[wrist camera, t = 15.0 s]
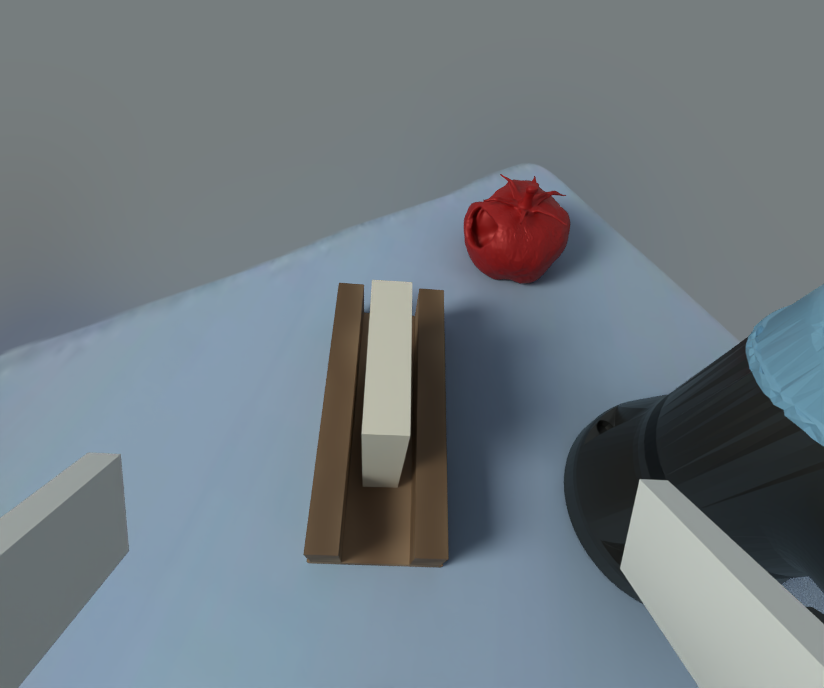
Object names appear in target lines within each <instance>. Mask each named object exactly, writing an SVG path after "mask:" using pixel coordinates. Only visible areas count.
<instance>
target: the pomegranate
mask: <svg viewBox="0 0 824 688" xmlns="http://www.w3.org/2000/svg"><path fill="white" fill-rule="evenodd" d="M500 175H501V176H502V177H504V178H505V179H506V180H507V181H508V183H507V184H506V185H505V186H504V187H502V188H500V189H499V190H497V191H496V192H495V193H494V194H493V195H492V196H491V197H490V198H489V199H487V200H484V202H475V203H472V204H471V205H470V207H469V208H468V211H467V213H466V215H465V218H464V236H465V245H466V248H467V251H468V254H469V256H470V258H471V260H472V261H473V263H474V265H475V266H476V267H477V268H478V269H479V270H480V271H481V272H483V273H484V274H486V275H487V276H489V277H491V278H493V279H496V280H501V279H509V280H513V281H515V282H518V283H531V282H533V281H536V280H537V279H539V278H540V277H541V276H542V275H543V274H544V273H545V272H546V270H547V269H548V268H549V267H550V266H551V265H552V263H553V262H554V261H555V260H556V259H557V258H558V257H559V256H560V255H561V253H562V252H563V251H564V249H565V247H566V244H567V241H568V235H569V231H570V219H569V215H568V213H567V212H566V211H565V210H564V209H563V208H562V207H560V205H559V204H558V203H557V202H556V201H555V199H554V198H553V197H552V195H560V196H566V195H562V194H560V193H558V192H557V191H551V192H545V191H543V190H542V189H541V188H540V187H539V184H538V183H536V178H535V176H534V179H533V180H532V181H526V180H525V181H524V180H523V181H520V180H511V179H509V178H507V177H505V176H503V175H502V174H500Z"/></svg>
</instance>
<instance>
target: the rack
mask: <svg viewBox="0 0 824 688" xmlns="http://www.w3.org/2000/svg"><path fill="white" fill-rule="evenodd" d="M369 319H370V313H364V285H362V284H348V283H339V287H338V294H337V302H336V310H335V317H334V325H333V333H332V340H331V348H330V356H329V363H328V371H327V379H326V386H325V394H324V402H323V409H322V417H321V425H320V432H319V440H318V448H317V455H316V463H315V471H314V478H313V486H312V494H311V501H310V509H309V517H308V524H307V532H306V540H305V547H304V556H305V557H306V558H307V562H308V563H317V564H348V565H379V566H410V567H442V566H443V563H444V562H446V561H447V560H448V505H447V448H446V391H445V333H444V290H432V289H419V294H418V300H417V306H416V312H415V316H412V341H411V424H410V439H409V443H408V447H407V451H406V455H405V460H404V464H403V468H402V472H401V476H400V480H399V484H398V488H392V487H363V480H362V421H363V406H364V392H365V377H366V362H367V348H368V333H369Z"/></svg>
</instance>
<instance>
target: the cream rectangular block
mask: <svg viewBox="0 0 824 688" xmlns="http://www.w3.org/2000/svg"><path fill="white" fill-rule="evenodd" d="M411 341H412V282H399V281H383V280H372V290H371V304H370V319H369V333H368V348H367V362H366V377H365V392H364V406H363V421H362V480H363V487H392V488H398V484H399V480H400V476H401V472H402V468H403V464H404V460H405V455H406V451H407V447H408V443H409V439H410V424H411Z"/></svg>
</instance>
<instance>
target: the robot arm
mask: <svg viewBox="0 0 824 688" xmlns="http://www.w3.org/2000/svg"><path fill="white" fill-rule="evenodd" d="M564 492H565V499H566V505H567V509H568V513H569V516H570V519H571V522H572V525H573V527H574V530H575V532H576V534H577V536H578V538H579V540H580V542H581V544H582V546H583V547H584V549H585V550H586V552H587V554H588V555H589V556H590V558H591V559H592V561H593V562H594V563H595V564H596V566H597V567H598V568H599V569H600V570H601V571H602V573H603V574H604V575H605V576H606V577H607V578H608V579H609V580H610V581H611V582H612V583H614V584H615V585H616V586H617V587H618V588H620V589H621V590H622V591H623V592H625V593H626V594H628V595H629V596H631V597H632V598H634V599H635V600H637V601H639V602H640V603H642V604H644V605H645V607H646V608H647V610H648V611H649V613H650V614H651V616H652V617H653V619H654V620H655V622H656V623H657V625H658V626H659V628H660V629H661V631H662V632H663V634H664V635H665V637H666V638H667V640H668V641H669V643H670V644H671V646H672V647H673V649H674V650H675V652H676V653H677V655H678V656H679V658H680V659H681V661H682V662H683V664H684V665H685V667H686V668H687V670H688V671H689V673H690V674H691V676H692V677H693V679H694V680H695V682H696V683H697V685H698V686H699V688H824V614H822V613H821V612H819V611H817V610H816V609H814V608H813V607H805V606H804V605H803V604H801V603H800V602H799V601H798V600H797V599H796V598H795V597H794V596H793V595H792V594H791V593H790V592H788V591H787V590H786V589H785V588H784V587H783V586H782V585H781V584H783V583H784V582H786V581H787V580H788V579H790V578H795V577H807V576H809V577H810V578H811V579H812V580H813V581H814V582H815V584H816V585H817V586H818V587H819V588H820V589H821V591H822V592H823V593H824V284H823V285H821V286H820V287H818V288H817V289H815V290H813V291H812V292H810V293H809V294H807V295H806V296H804V297H803V298H801V299H800V300H798V301H796V302H795V303H794V304H792V305H789V306H787V307H784V308H781V309H779V310H777V311H775V312H772V313H771V314H769V315H768V316H766V317H765V318H764V319H763V320H761V321H760V322H759V323H758V324H757V325H756V326H755V327H754V330H753V332H752V333H751V334H750V335H749V336H748V337H747V338H746V339H744V340H743V341H742V342H740V343H739V344H738V345H736V346H735V347H734V348H732V349H731V350H729V351H728V352H727V353H725V354H724V355H722V356H721V357H720V358H718V359H717V360H716V361H714V362H713V363H711V364H710V365H709V366H707V367H706V368H704V369H703V370H702V371H700V372H699V373H697V374H696V375H695V376H693V377H692V378H690V379H689V380H688V381H686V382H685V383H683V384H682V385H681V386H679V387H678V388H676V389H675V390H674V391H673V392H671V393H670V394H667V395H662V396H656V397H651V398H646V399H640V400H635V401H630V402H626V403H622V404H620V405H617V406H615V407H613V408H611V409H609V410H607V411H605V412H604V413H602V414H601V415H600V416H598V417H597V418H596V419H595V420H594V421H592V422H591V423H590V424H589V425H588V426H587V427H586V428H584V429H583V431H582V432H581V433H580V434H579V435H578V437H577V438H576V440H575V441H574V443H573V445H572V447H571V449H570V452H569V454H568V458H567V461H566V466H565V474H564ZM128 552H129V544H128V532H127V521H126V509H125V498H124V486H123V474H122V463H121V454H107V453H87V454H86V455H84V456H83V457H82V458H80V459H79V460H78V461H76V462H75V463H74V464H72V465H71V466H70V467H68V468H67V469H66V470H64V471H63V472H62V473H60V474H59V475H58V476H56V477H55V478H54V479H52V480H51V481H49V482H48V483H47V484H45V485H44V486H43V487H41V488H40V489H39V490H37V491H36V492H35V493H33V494H32V495H31V496H29V497H28V498H27V499H25V500H24V501H23V502H21V503H20V504H19V505H17V506H16V507H15V508H13V509H12V510H11V511H9V512H8V513H6V514H5V515H4V516H2V517H1V518H0V688H18V687H19V686H20V685H21V683H22V682H23V681H24V680H25V679H26V677H27V676H28V675H29V674H30V672H31V671H32V670H33V669H34V667H35V666H36V665H37V664H38V663H39V661H40V660H41V659H42V658H43V656H44V655H45V654H46V653H47V651H48V650H49V649H50V648H51V646H52V645H53V644H54V643H55V642H56V640H57V639H58V638H59V637H60V635H61V634H62V633H63V632H64V630H65V629H66V628H67V627H68V626H69V624H70V623H71V622H72V621H73V619H74V618H75V617H76V616H77V614H78V613H79V612H80V611H81V610H82V608H83V607H84V606H85V605H86V603H87V602H88V601H89V600H90V598H91V597H92V596H93V595H94V593H95V592H96V591H97V590H98V589H99V587H100V586H101V585H102V584H103V582H104V581H105V580H106V579H107V577H108V576H109V575H110V574H111V573H112V571H113V570H114V569H115V568H116V566H117V565H118V564H119V563H120V561H121V560H122V559H123V558H124V556H125V555H126V554H127V553H128Z"/></svg>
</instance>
